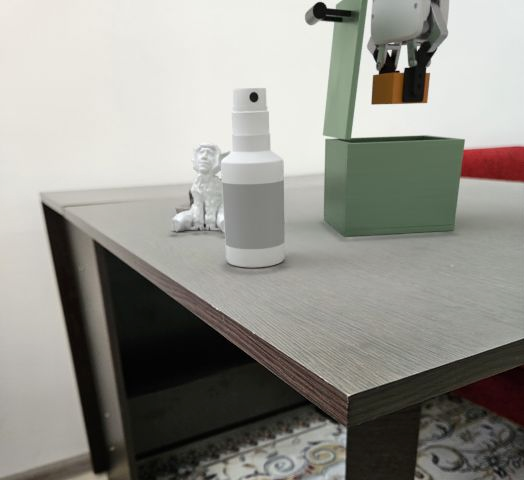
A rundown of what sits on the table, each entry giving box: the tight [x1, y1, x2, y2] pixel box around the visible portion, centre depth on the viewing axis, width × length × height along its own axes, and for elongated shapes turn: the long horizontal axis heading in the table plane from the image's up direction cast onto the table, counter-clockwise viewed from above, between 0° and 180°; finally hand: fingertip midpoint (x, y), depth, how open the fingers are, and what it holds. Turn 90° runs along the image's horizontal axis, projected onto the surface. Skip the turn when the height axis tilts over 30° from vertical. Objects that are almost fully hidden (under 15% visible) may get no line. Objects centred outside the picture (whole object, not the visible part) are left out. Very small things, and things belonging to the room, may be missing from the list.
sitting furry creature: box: [169, 141, 231, 234], centre depth 77 cm, size 10×9×12 cm
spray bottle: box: [220, 87, 286, 269], centre depth 57 cm, size 7×7×18 cm
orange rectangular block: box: [371, 72, 431, 105], centre depth 70 cm, size 6×4×4 cm
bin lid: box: [304, 0, 369, 140], centre depth 68 cm, size 16×13×6 cm
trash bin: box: [323, 134, 466, 237], centre depth 75 cm, size 16×13×12 cm
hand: (399, 100), depth 71 cm, fingers closed on orange rectangular block, 4 cm apart
